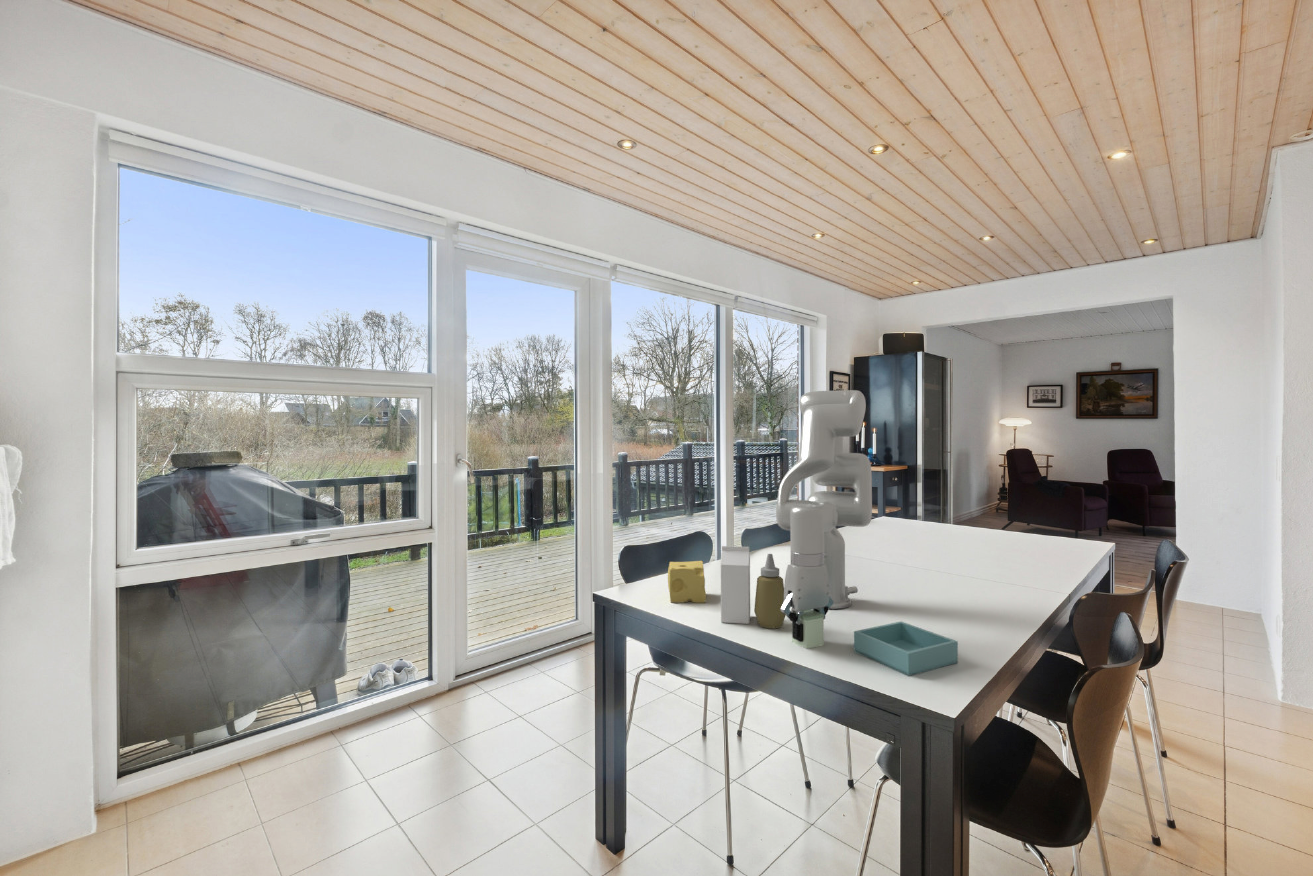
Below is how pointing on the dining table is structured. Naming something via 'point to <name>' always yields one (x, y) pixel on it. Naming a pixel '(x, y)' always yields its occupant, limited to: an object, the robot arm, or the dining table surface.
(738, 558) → the milk carton
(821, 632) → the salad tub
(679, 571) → the cheese
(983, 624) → the dining table surface
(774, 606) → the squeeze bottle
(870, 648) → the bin
